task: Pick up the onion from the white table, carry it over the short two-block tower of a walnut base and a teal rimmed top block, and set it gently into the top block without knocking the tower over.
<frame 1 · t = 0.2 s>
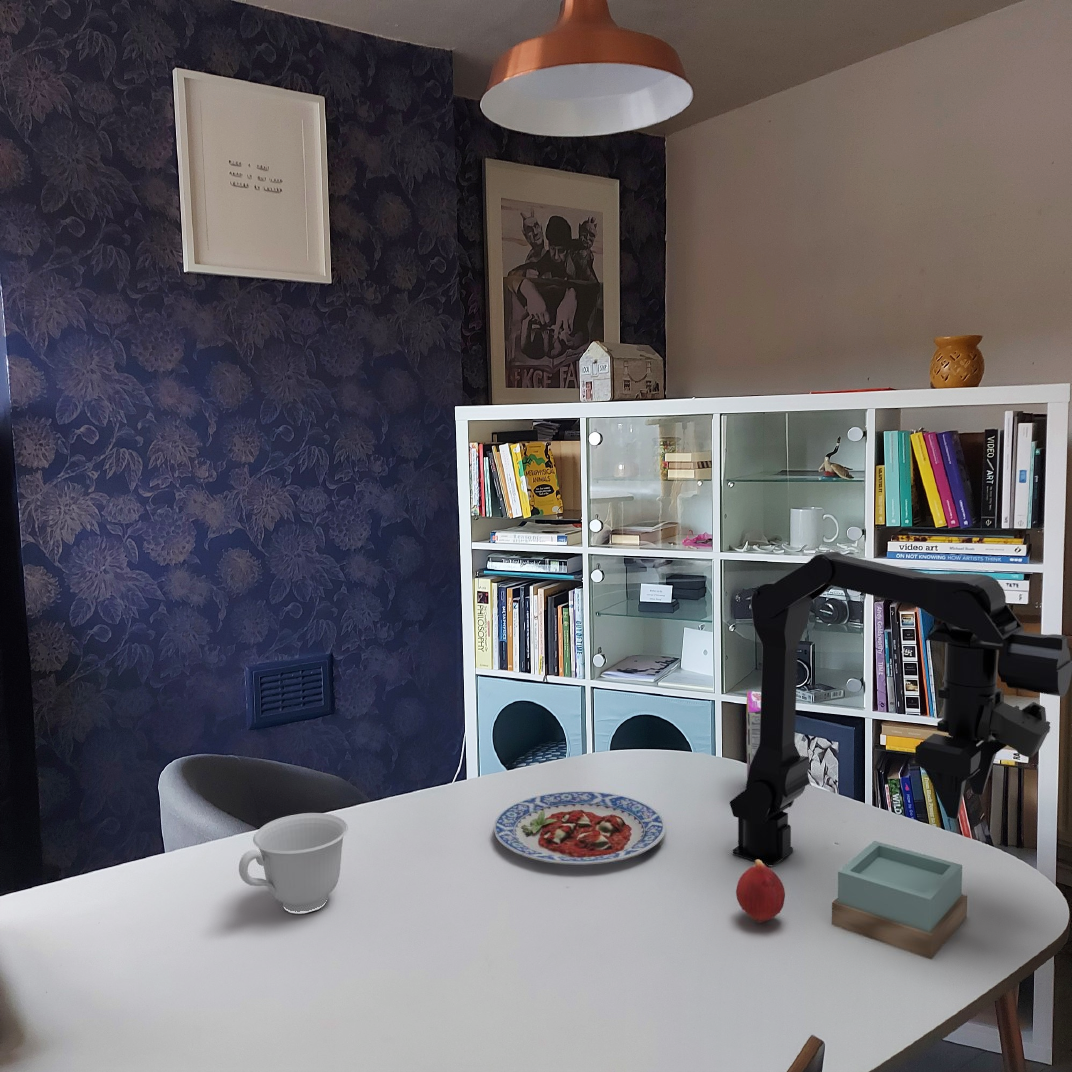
hand: (965, 805, 117), 14 cm above the table, tool pointing down, fingers open, 9 cm apart
bottom block: (899, 926, 118), on the table, touching top block
teacup: (295, 909, 125), on the table
top block: (899, 899, 118), point 3 cm above the table, touching bottom block
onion: (760, 923, 119), on the table
ceramic plate: (579, 838, 144), on the table
candy bar box: (762, 798, 157), on the table
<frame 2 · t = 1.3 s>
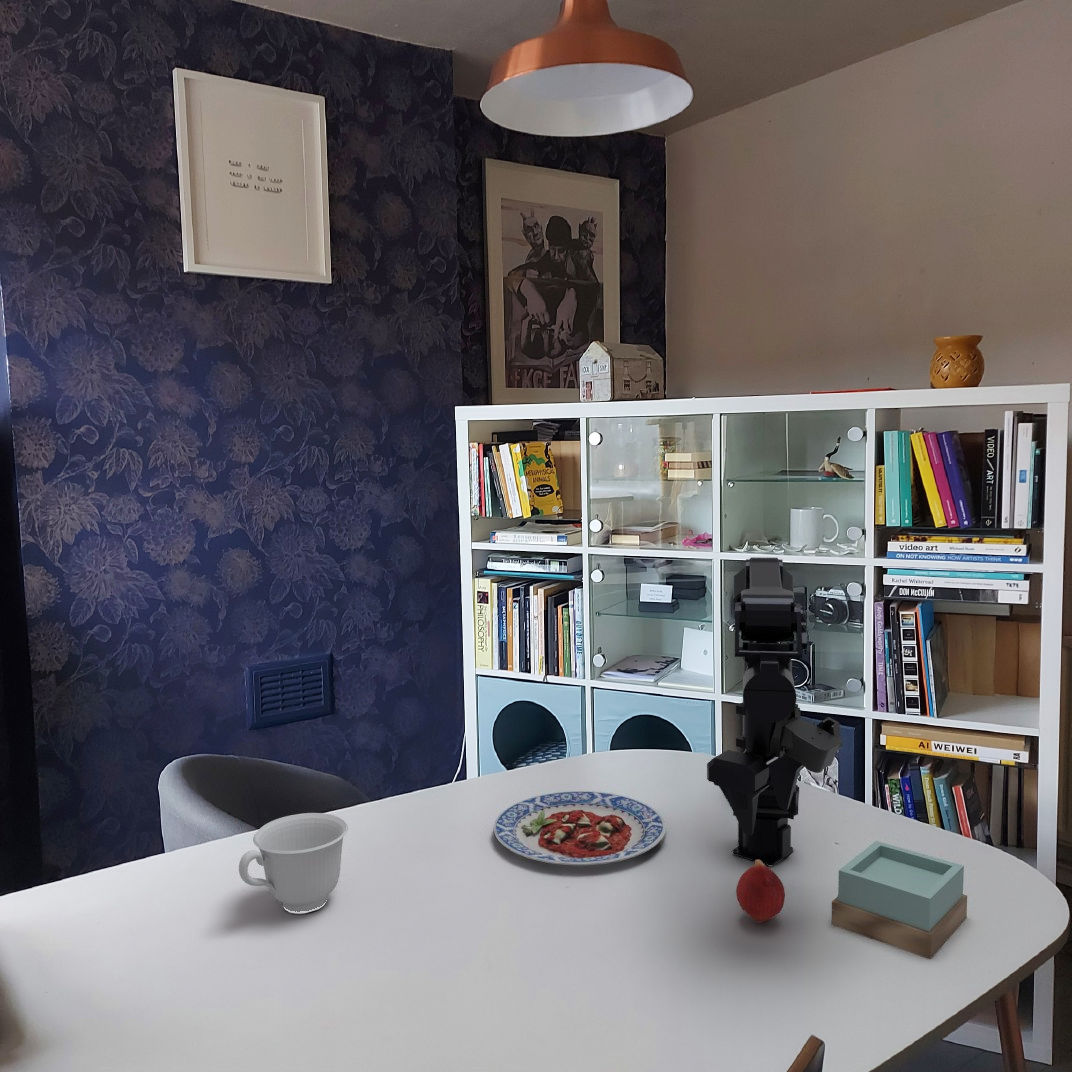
hand: (766, 820, 117), 13 cm above the table, tool pointing down, fingers open, 9 cm apart
nothing on the table moved.
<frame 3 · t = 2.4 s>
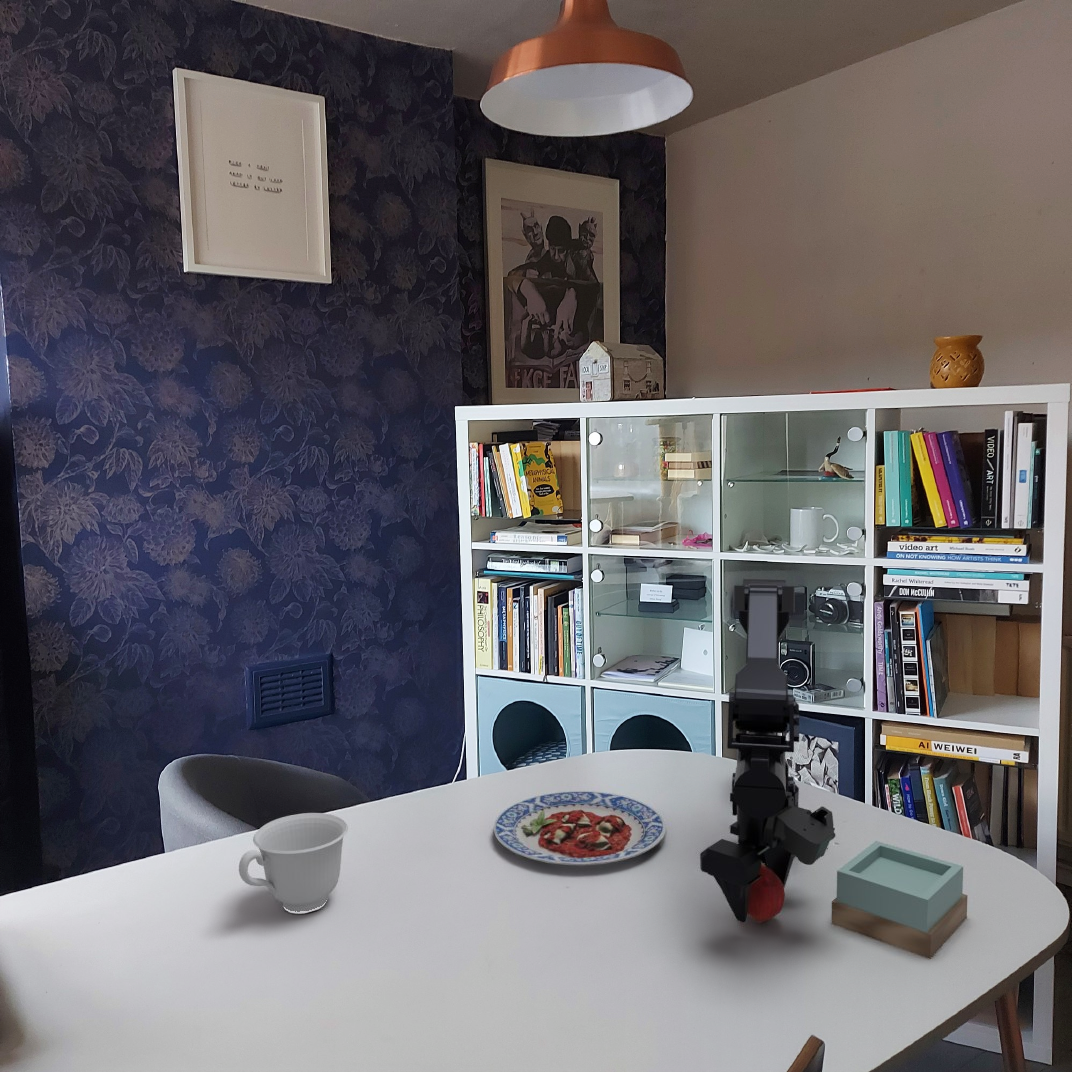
hand: (760, 906, 118), 2 cm above the table, tool pointing down, fingers open, 9 cm apart
bottom block: (899, 925, 118), on the table
top block: (899, 899, 117), point 3 cm above the table
everything else where it was.
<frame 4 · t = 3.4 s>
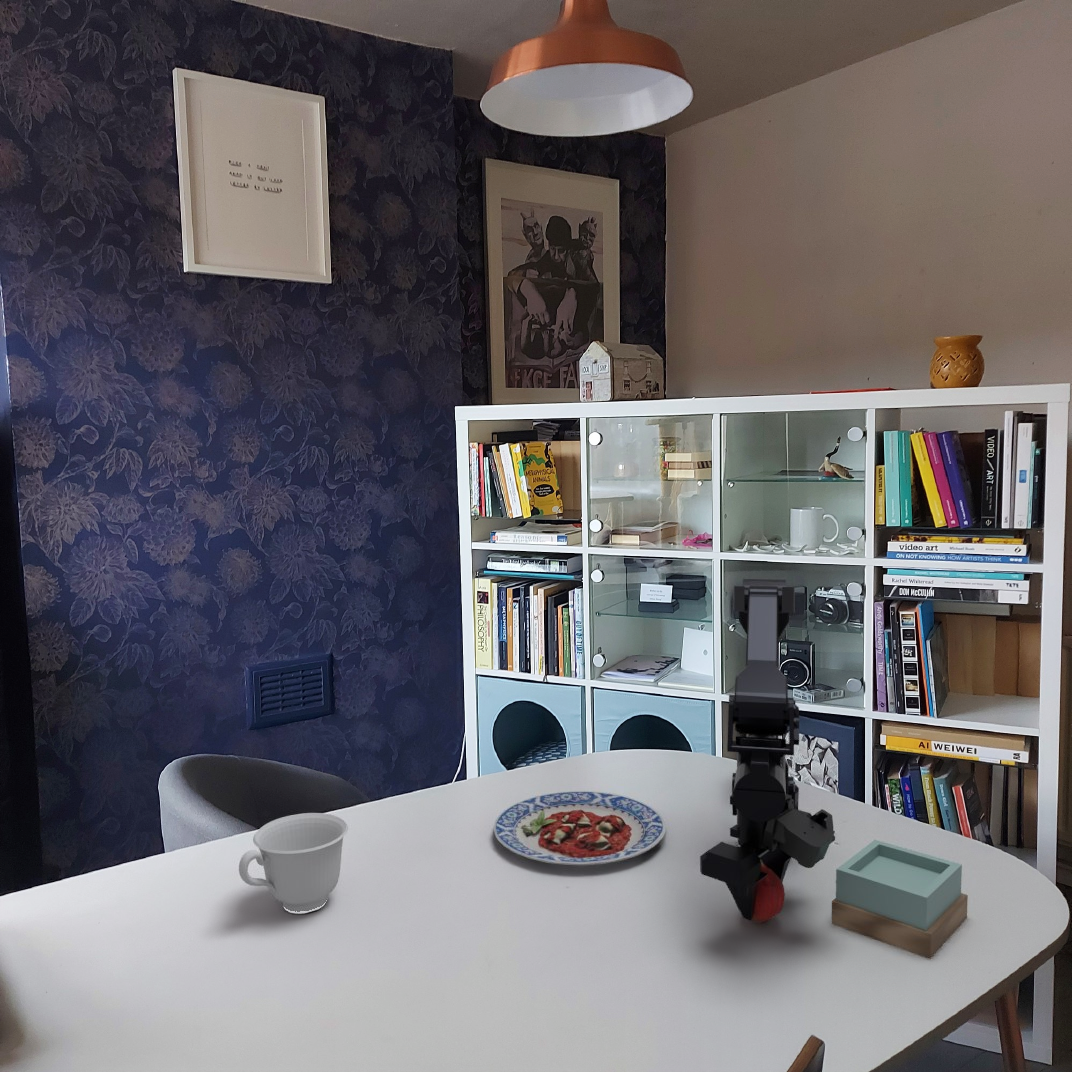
hand: (760, 909, 118), 2 cm above the table, tool pointing down, fingers closed on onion, 6 cm apart
bottom block: (899, 925, 118), on the table, touching top block
top block: (898, 897, 118), point 3 cm above the table, touching bottom block
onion: (760, 923, 119), on the table, touching gripper
everything else where it was.
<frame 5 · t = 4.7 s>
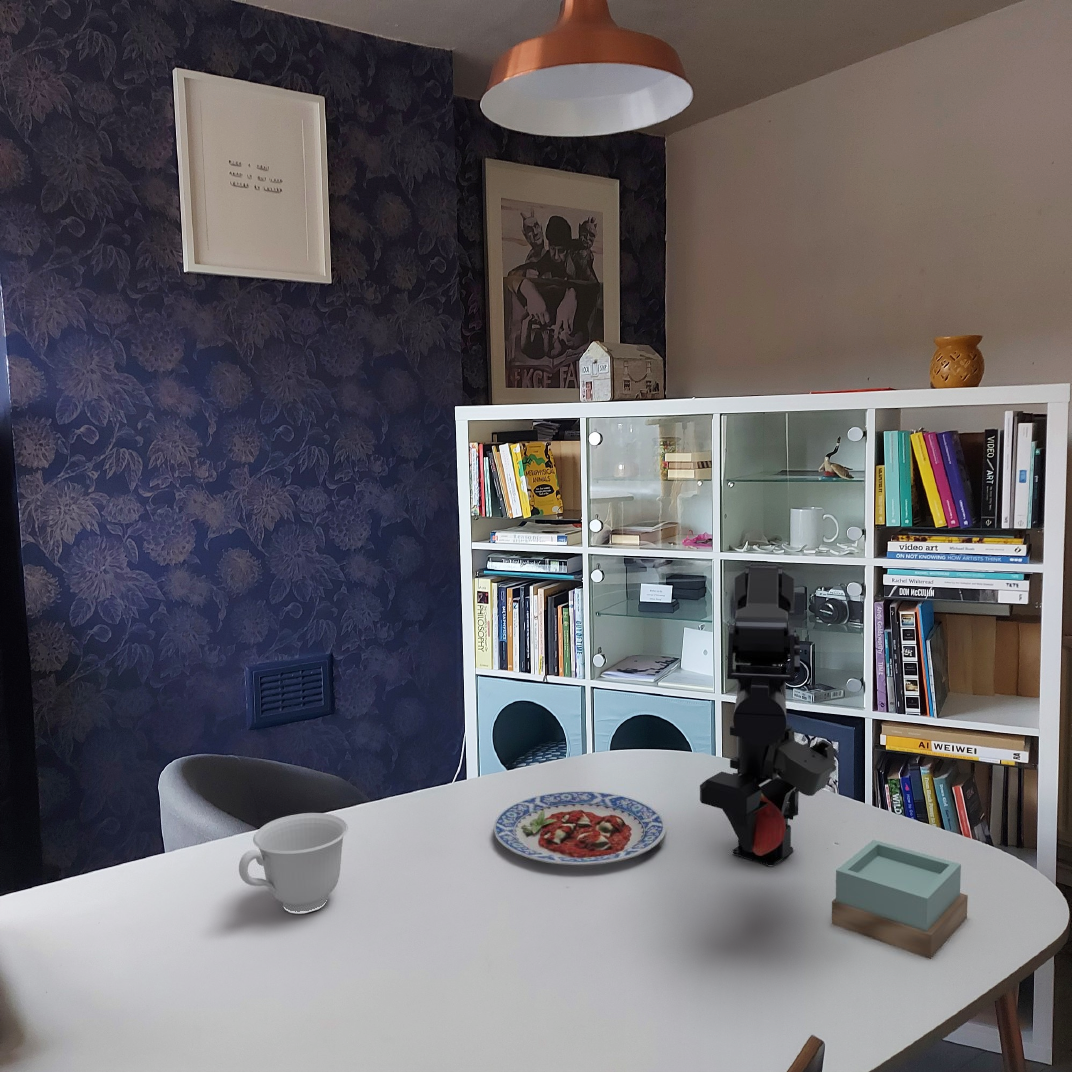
hand: (760, 842, 117), 10 cm above the table, tool pointing down, fingers closed on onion, 6 cm apart
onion: (760, 856, 118), point 9 cm above the table, touching gripper
everything else where it was.
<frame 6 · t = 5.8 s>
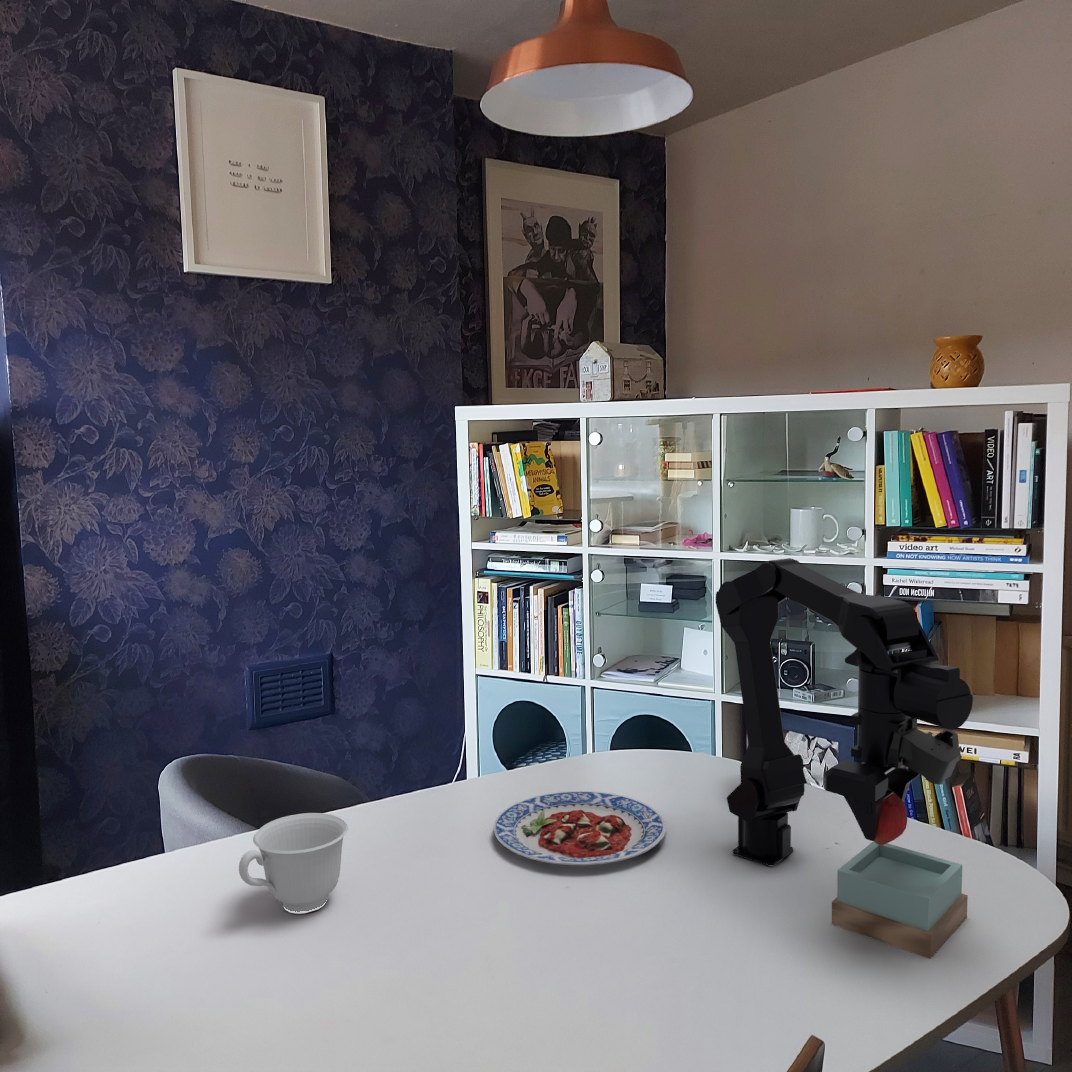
hand: (881, 831, 116), 12 cm above the table, tool pointing down, fingers closed on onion, 6 cm apart
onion: (881, 846, 117), point 10 cm above the table, touching gripper
everything else where it was.
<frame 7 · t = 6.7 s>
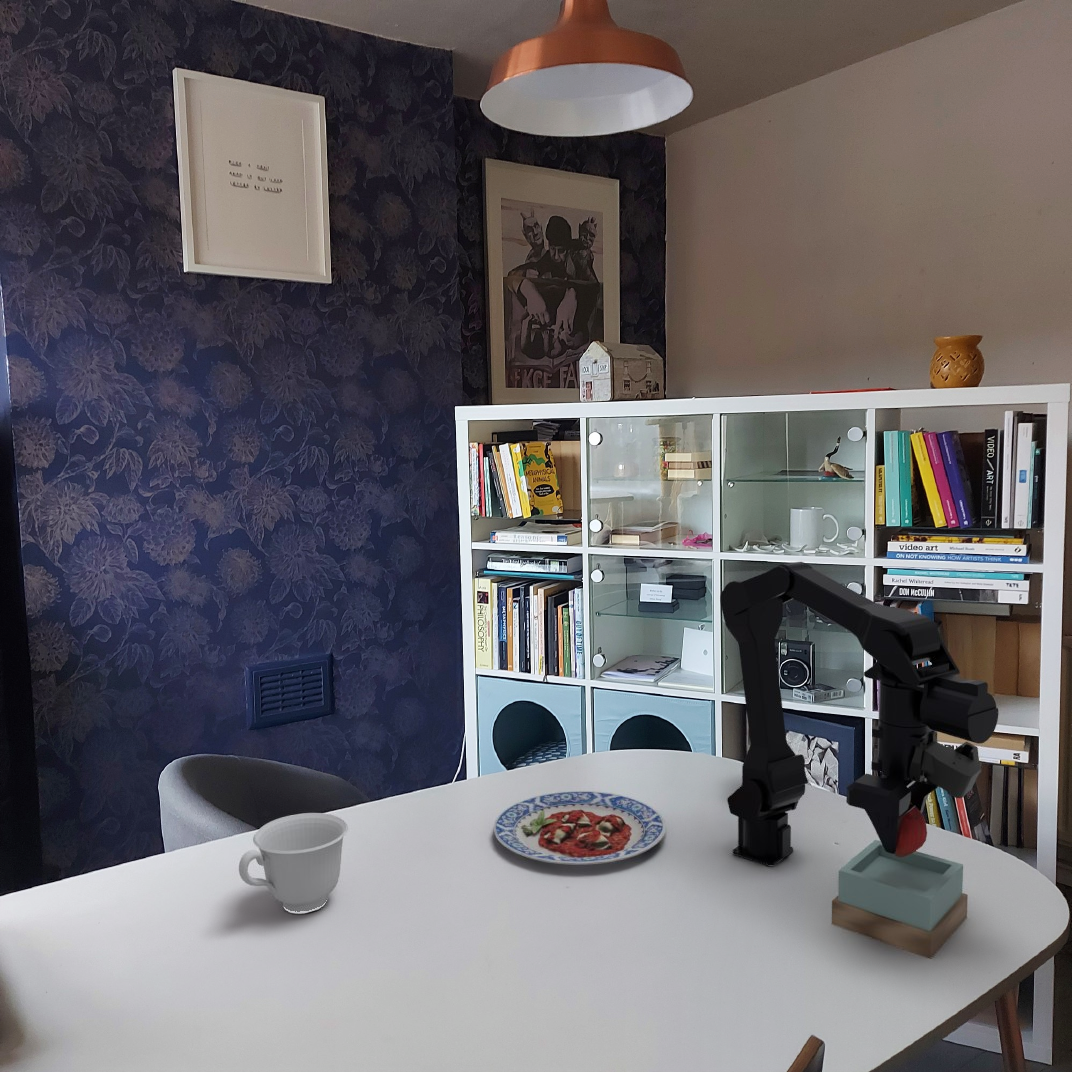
hand: (900, 843, 117), 10 cm above the table, tool pointing down, fingers closed on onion, 6 cm apart
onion: (900, 858, 117), point 8 cm above the table, touching gripper
everything else where it was.
when the fingers open (9 cm above the table, at t = 8.1 s): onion drops 2 cm, resting on top block.
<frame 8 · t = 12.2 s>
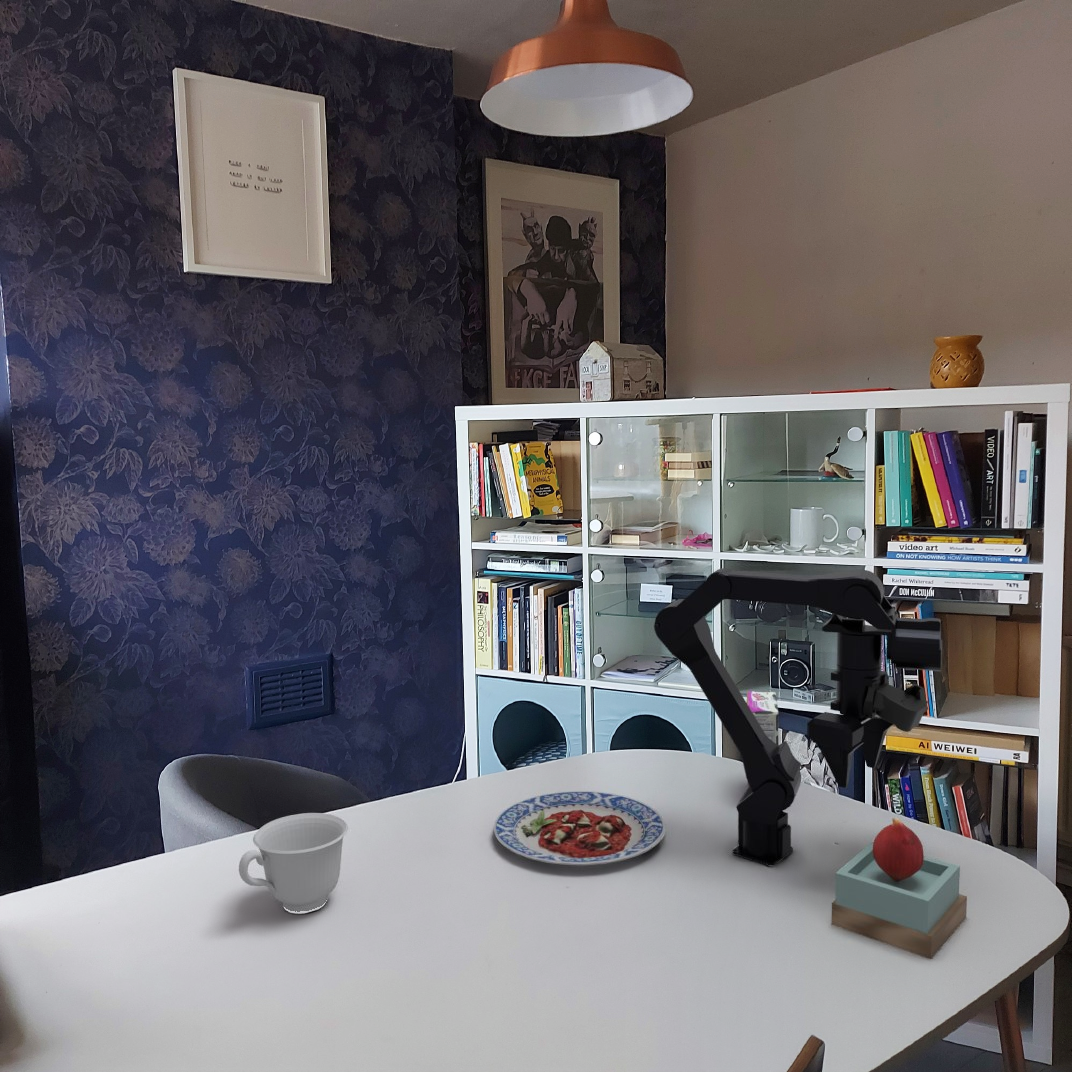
hand: (857, 776, 130), 13 cm above the table, tool pointing down, fingers open, 9 cm apart
top block: (897, 900, 118), point 3 cm above the table, touching bottom block, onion
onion: (897, 881, 117), point 5 cm above the table, touching top block
everything else where it was.
at the end: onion inside the target area on the top block (0.1 cm from its centre), point 2.3 cm above the top block's base; top block tilted 0°; top block 0.4 cm off-centre on the bottom block, point 3.5 cm above the bottom block's base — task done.
